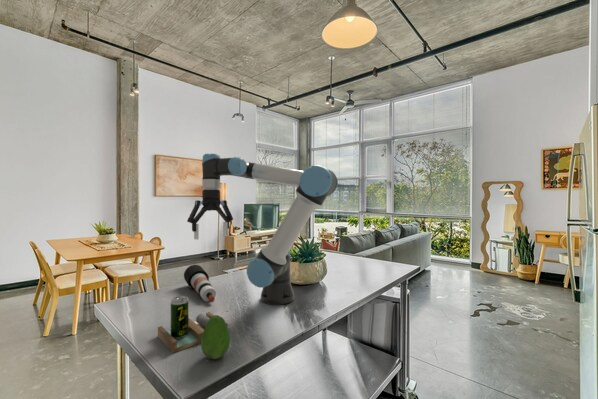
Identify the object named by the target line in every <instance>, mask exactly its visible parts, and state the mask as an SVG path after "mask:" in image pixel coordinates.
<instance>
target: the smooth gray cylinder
mask: <svg viewBox="0 0 598 399" xmlns="http://www.w3.org/2000/svg"><path fill="white" fill-rule="evenodd" d="M209 319H210V318H208V317H207V316H206V314H203V313H199V314H198V315H196V318H195V321H196V322H197V323H199V324H200V325H201V326H203V327H204V328H205V327H206V325H207V323H208V321H209Z"/></svg>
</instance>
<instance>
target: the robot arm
mask: <svg viewBox="0 0 598 399" xmlns="http://www.w3.org/2000/svg"><path fill="white" fill-rule="evenodd" d="M201 166H202V168H201V169H202V181H201V182H202V186H201V187H202V190H201V191H202V192H201V193H202V196H201V197H202V199H201V200H198V199H196V200H195V201H194V206H193V208H192V210H191V213H190V214H189V217H188V218H187V223H190V224H191V230H192V232H193V239H194V240H199V238H200V237H199V226H200V225H199V223H198V222H199V221H200V220H201V219H202V217H203V216H204V214H205V213H206V212H207V211H210V212H211V211H216V212H217V213H218V214H219V215H220V218H222V219H223V222H222V232H223V233H222V236H223V237H226V238H227V237H228V236H229V235H228V230H229V229H230V222H231V221H233V220H234V218H233V216H232V213H231V211H230V208H229V206H228V201H227V199H226V200H225V199H223V200H221V190H220V189H221V177H223V176H234V177H239V178H244V179H252V180H258V181H262V182H268V183H272V184H279V185H283V186H288V187H289V186H291V187H293V188H296V189H295V193H296V197H295V199H294V200H293V202H292V204H291V205H290V207H289V208H288V210H287V212H286V214H285V216H284V217H283V219H282V220H281V222H280V224H279V226H278V228H277V229H276V231H275V232H274V234H273V236H272V237H271V239H270V241H269V242H268V244H267V245H266V246H262V247H261V248H260V250H259V252H258V254H257V255H256V257H255V258H253V259H252V260H251V261H249V262H248V265H247V266H246V275H247V279H248V280H249V282H250V284H252V285H253V286H255V287H257V288H262V290H261V293H260V301H261V302H262V303H264V304H267V305H273V306H274V305H278V306H279V305H286V304H289V303H291V302H293V301H294V300H295V292H294V289H293V286H292V283H291V251H290V250H291V249H292V247H293V245H294V244H295V243H296V240H297V239H298V237H299V236H300V234H301V232H302V231H303V228H304V227H305V226H306V224H307V222H308V220H309V219H310V217H311V216H312V214H313V213H314V211H315V209H316V208H317V207H318V208H319V207H322V205H323V203H324V201H325V200H326V199H327V197H328V196H331V195H332V194H333V193H335V191H336V189H337V187H338V178H337V175H336V174H335V173H334V172H333V171H332V170H330V169H329V168H328V167H326V166H323V165H318V164H316V165H315V164H314V165H310V166H308V167H307V168H305V169H304V170H302V169H301V170H299V169H295V168H287V167H280V166H274V165H269V164H268V165H267V164H262V163H255V162H250V161H246V160H245V159H244V158H243V157H238V156H237V157H236V156H234V157H223V158H222V157H221V155H220V154H219V153H204V154H203V155H202V162H201ZM200 206H202V207H201V209H200V210H199V208H200ZM221 206H222V208H223V210H222V208H221ZM198 210H199V212H198Z"/></svg>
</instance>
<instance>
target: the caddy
mask: <svg viewBox="0 0 598 399" xmlns="http://www.w3.org/2000/svg"><path fill="white" fill-rule="evenodd" d="M215 315H216V314H215ZM215 315H214V314H213V313H211V312H210V311H208V312H206V313H205V316H207V317H208V318H211V317H212V316H215ZM225 323H226V325H227V327H228V328H229V324H228V323H227V322H226V321H225ZM204 329H205V328H204V327H203V326H201V325H200V324H199V323H197V322H196V320H195V321H194V320H192V319H190V318H189V332H188V335H187V336H186V337H184V338H181V339H174V338H173V337H172V336H171V328H170V329H167V330H166V329H165V328H164V327H163V326H158V327H157V337H158V338H159V340H160V341H161V342H162V343H163V344H164V345H165V346H166V347H167V348H168V350H170V352H171V353H173V354H174V353H177V352H179V351H180V352H181V351H183V350H185V349H188V348H191V347H193V346H196V345H198V344H201V338H202V335H203V332H204Z"/></svg>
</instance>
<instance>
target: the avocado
mask: <svg viewBox="0 0 598 399" xmlns="http://www.w3.org/2000/svg"><path fill="white" fill-rule="evenodd" d="M225 322H226V321H225V319H224V317H222V316H220V315H216V314H215V316H212V317H211V318H210V319H209V321H208V323H207V325H206V327H205V329H204V332H203V335H202V338H201V343H200V347H201V350H202V353H203V355H205V357H206V358H208V359H210V360H218V359H219V358H222V357H223V356H224V355H225V354H226V353H227V351H228V349H229V347H230V342H231V334H230V330H229V326H228V327H227V325H226V323H227V322H226V323H225Z"/></svg>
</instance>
